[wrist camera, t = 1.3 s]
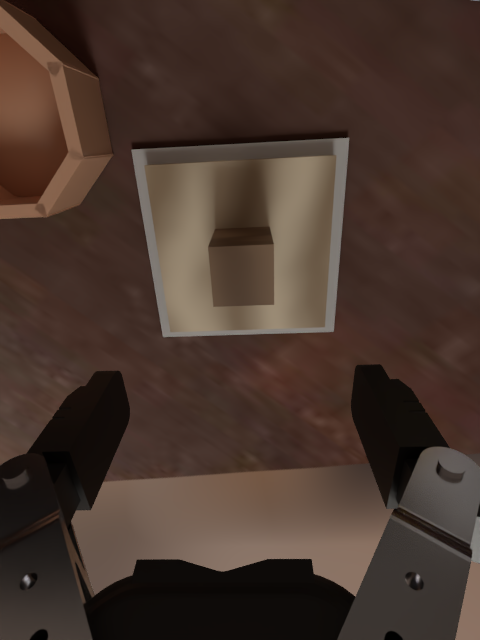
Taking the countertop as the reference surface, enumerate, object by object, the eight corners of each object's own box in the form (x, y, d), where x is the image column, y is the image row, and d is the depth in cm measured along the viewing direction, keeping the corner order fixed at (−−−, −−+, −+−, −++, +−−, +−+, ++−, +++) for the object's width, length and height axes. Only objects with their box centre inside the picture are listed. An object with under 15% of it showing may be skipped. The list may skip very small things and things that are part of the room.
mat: (347, 137, 24) (349, 137, 24) (332, 329, 31) (333, 331, 31) (133, 149, 25) (131, 149, 24) (164, 334, 32) (163, 336, 31)
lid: (333, 154, 24) (356, 158, 19) (322, 321, 30) (338, 360, 25) (147, 164, 25) (119, 170, 20) (172, 326, 31) (156, 365, 25)
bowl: (86, 13, 22) (44, -20, 17) (122, 202, 26) (97, 215, 22) (-88, 26, 22) (-173, -4, 18) (-20, 209, 27) (-73, 223, 23)
